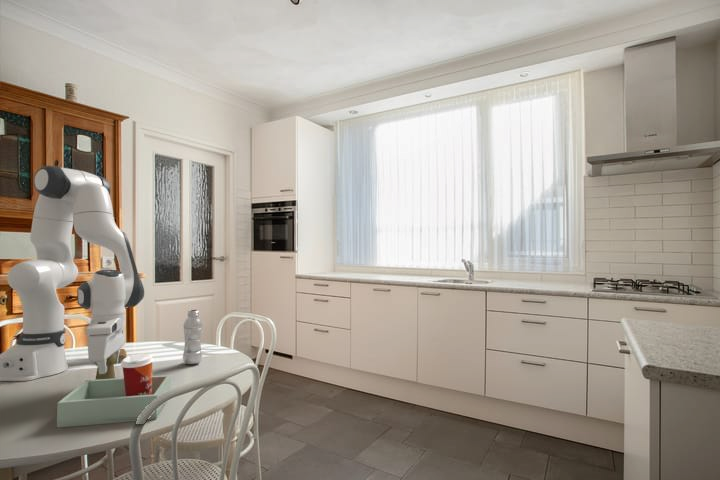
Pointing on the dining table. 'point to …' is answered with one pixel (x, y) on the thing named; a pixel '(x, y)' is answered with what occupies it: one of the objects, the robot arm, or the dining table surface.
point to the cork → (110, 369)
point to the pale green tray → (107, 402)
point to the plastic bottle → (192, 338)
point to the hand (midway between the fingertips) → (108, 368)
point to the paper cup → (138, 374)
